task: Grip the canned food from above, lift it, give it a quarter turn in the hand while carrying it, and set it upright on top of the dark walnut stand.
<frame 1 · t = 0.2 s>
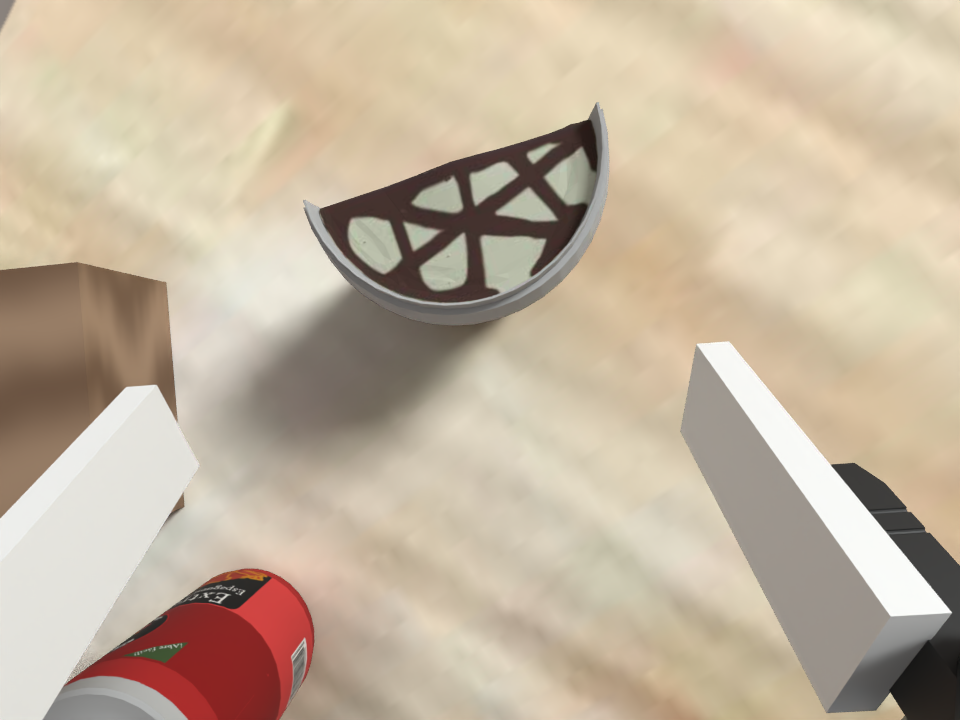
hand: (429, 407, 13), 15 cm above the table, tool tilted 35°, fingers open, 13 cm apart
walnut stand: (68, 403, 30), on the table
food container: (486, 278, 28), on the table
canned food: (255, 630, 29), on the table
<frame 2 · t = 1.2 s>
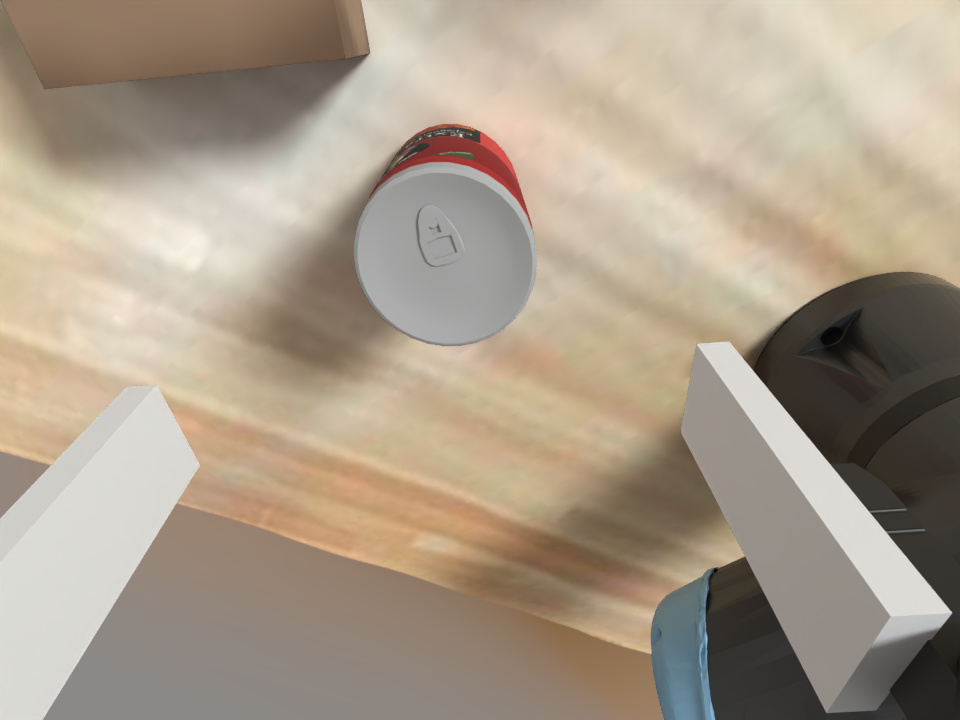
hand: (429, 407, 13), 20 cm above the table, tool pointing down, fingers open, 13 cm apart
canned food: (454, 193, 30), on the table
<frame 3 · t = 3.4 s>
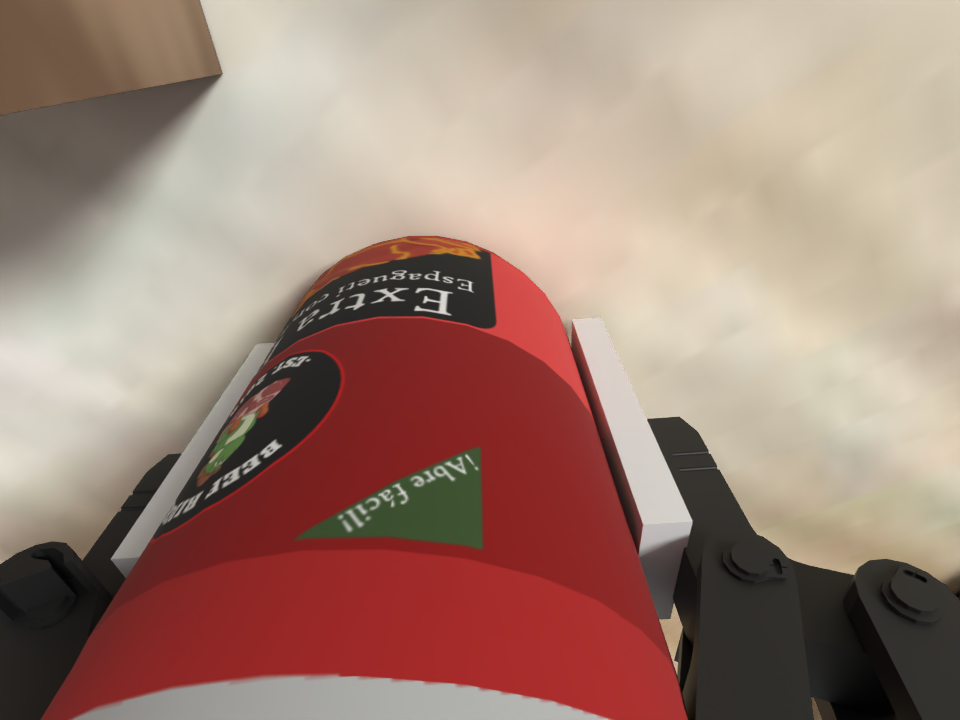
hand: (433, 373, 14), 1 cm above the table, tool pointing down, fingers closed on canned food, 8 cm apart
canned food: (435, 355, 15), on the table, touching gripper
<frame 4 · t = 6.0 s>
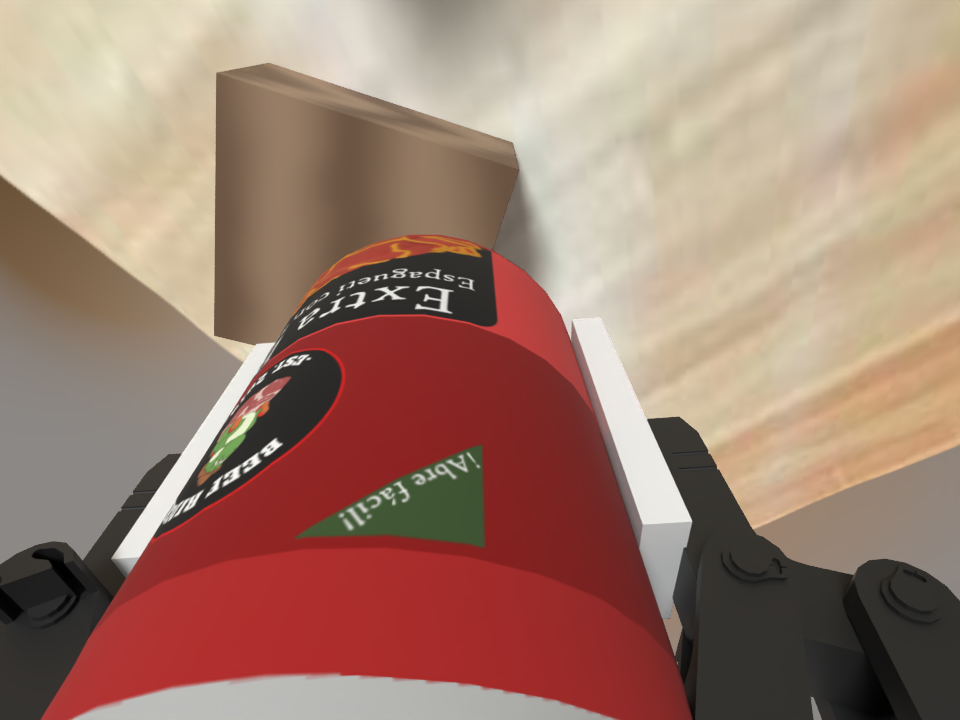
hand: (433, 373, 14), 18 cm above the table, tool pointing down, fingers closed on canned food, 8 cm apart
walnut stand: (373, 221, 30), on the table
canned food: (436, 354, 15), point 17 cm above the table, touching gripper
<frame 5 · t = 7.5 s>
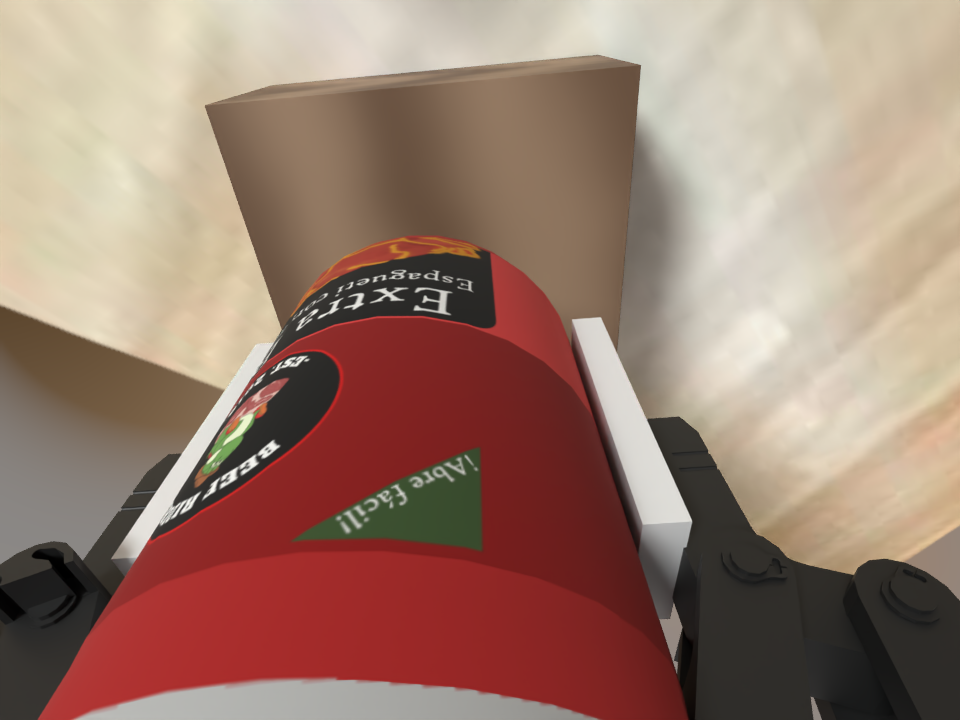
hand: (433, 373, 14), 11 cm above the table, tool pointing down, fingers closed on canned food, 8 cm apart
walnut stand: (451, 230, 24), on the table
canned food: (435, 355, 15), point 11 cm above the table, touching gripper
when the fingers open (8 cm above the table, at t = 8.5 s): canned food drops 1 cm, resting on walnut stand.
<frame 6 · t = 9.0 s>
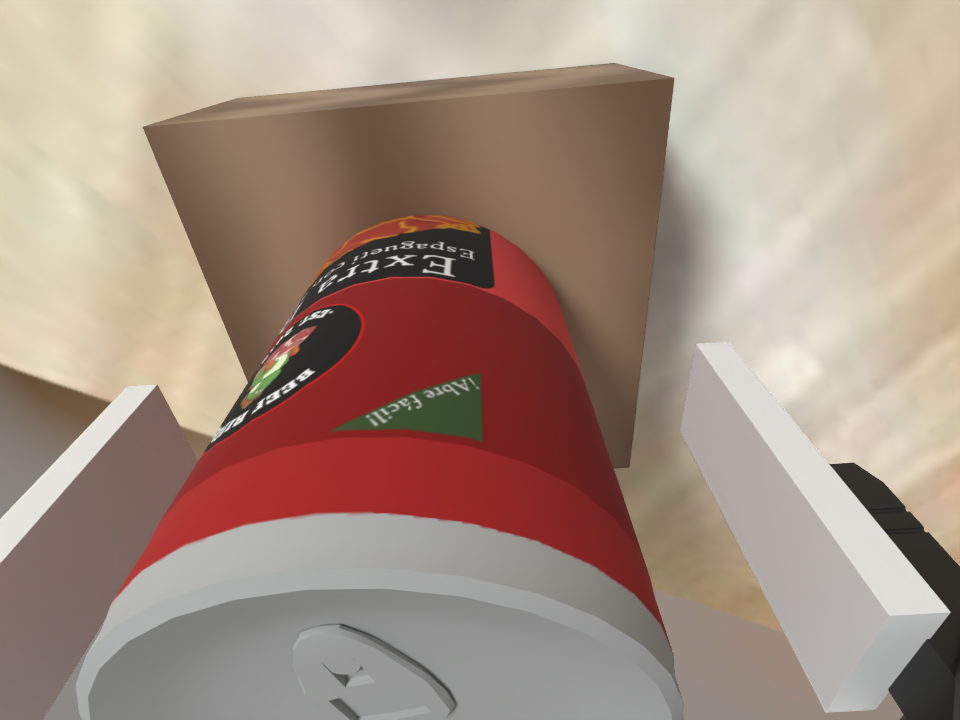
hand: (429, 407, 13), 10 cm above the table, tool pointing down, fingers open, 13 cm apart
walnut stand: (445, 259, 21), on the table
canned food: (438, 328, 16), point 6 cm above the table, touching walnut stand
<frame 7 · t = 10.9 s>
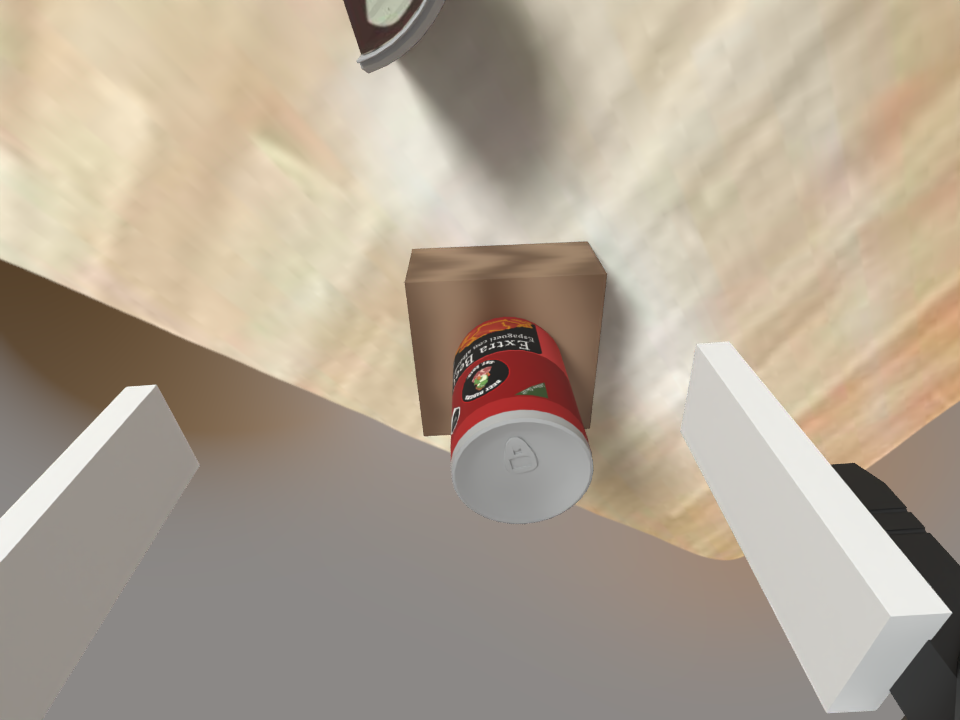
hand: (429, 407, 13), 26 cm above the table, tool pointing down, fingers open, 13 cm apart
walnut stand: (500, 322, 41), on the table
canned food: (506, 360, 36), point 6 cm above the table, touching walnut stand
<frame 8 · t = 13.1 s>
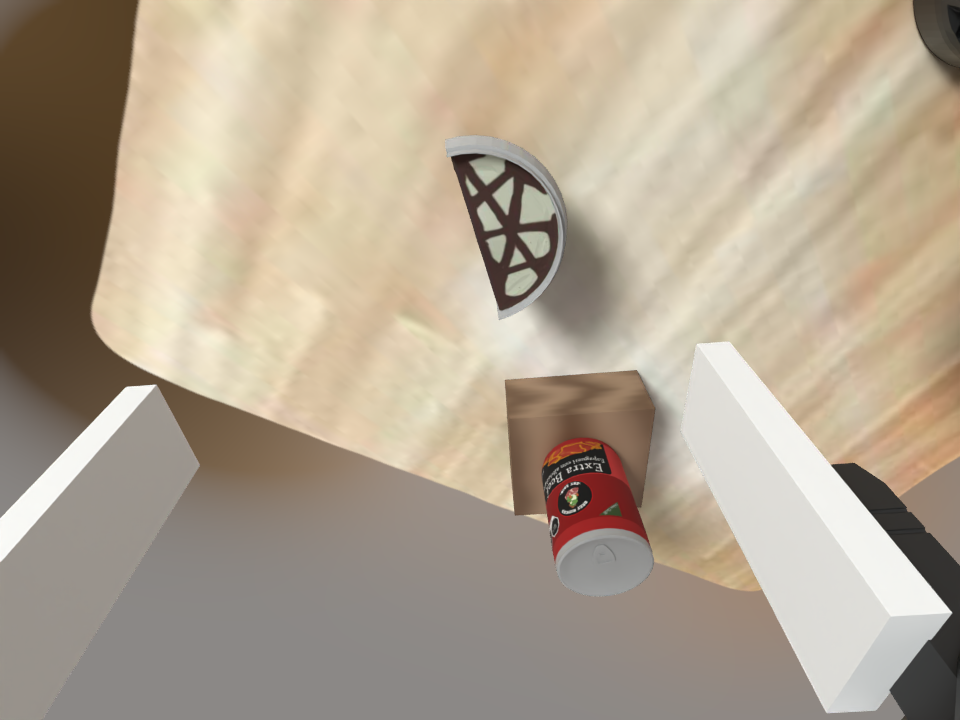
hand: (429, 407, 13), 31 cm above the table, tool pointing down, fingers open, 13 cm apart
walnut stand: (569, 425, 53), on the table
food container: (511, 188, 40), on the table
canned food: (579, 464, 49), point 6 cm above the table, touching walnut stand
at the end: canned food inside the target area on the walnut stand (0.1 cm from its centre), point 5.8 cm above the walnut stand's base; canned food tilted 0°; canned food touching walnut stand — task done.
